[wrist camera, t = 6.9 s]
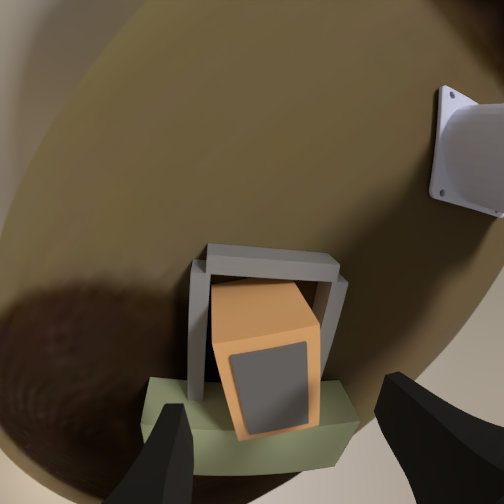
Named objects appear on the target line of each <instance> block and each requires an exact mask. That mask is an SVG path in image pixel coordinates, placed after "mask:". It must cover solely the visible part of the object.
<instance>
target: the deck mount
mask: <svg viewBox="0 0 504 504" xmlns="http://www.w3.org/2000/svg"><path fill="white" fill-rule="evenodd" d="M339 270H340V264H339V263H338V262H337V261H336V260H335V259H334V258H332V257H331V256H330V255H329V254H328V253H320V252H308V251H297V250H285V249H273V248H261V247H250V246H238V245H226V244H214V243H208V247H207V259H206V260H198V259H193V262H192V268H191V276H190V297H189V323H188V380H176V379H165V378H155V377H150V380H149V385H148V389H147V394H146V399H145V404H144V409H143V414H142V419H141V429H142V434H143V439H144V443H145V442H146V440H147V439H148V437H149V435H150V433H151V431H152V429H153V427H154V425H155V423H156V421H157V419H158V417H159V415H160V413H161V410H162V408H163V406H164V405H165V404H166V403H184V406H185V410H186V414H187V418H188V421H189V425H190V428H191V432H192V435H193V444H194V473H193V475H214V476H242V475H265V474H279V473H290V472H299V471H307V470H314V469H320V468H327V467H333V466H335V464H336V463H337V461H338V460H339V458H340V456H341V455H342V453H343V451H344V450H345V448H346V446H347V445H348V443H349V441H350V439H351V438H352V436H353V434H354V432H355V430H356V429H357V427H358V425H359V423H360V421H361V420H360V418H359V416H358V414H357V412H356V411H355V409H354V407H353V405H352V403H351V401H350V399H349V397H348V395H347V394H346V392H345V390H344V388H343V386H342V384H341V382H340V380H333V381H320V413H319V425H318V426H314V427H310V428H306V429H301V430H297V431H293V432H288V433H283V434H278V435H273V436H268V437H262V438H256V439H250V440H243V441H238V438H237V434H236V431H235V427H234V424H233V421H232V417H231V414H230V410H229V407H228V403H227V399H226V396H225V392H224V388H223V385H222V382H204V368H205V349H206V332H207V317H208V303H209V289H210V276H211V274H217V275H230V276H244V277H259V278H274V279H290V280H307V281H318V284H317V288H316V293H315V298H314V302H313V306H312V312H313V314H314V315H315V317H316V319H317V320H318V322H319V323H320V380H321V377H322V374H323V371H324V367H325V364H326V361H327V358H328V355H329V352H330V348H331V345H332V342H333V338H334V335H335V332H336V328H337V325H338V321H339V317H340V314H341V310H342V306H343V303H344V299H345V295H346V291H347V287H348V282H347V281H346V280H345V279H344V278H343V277H342V276H341V275H340V274H339Z"/></svg>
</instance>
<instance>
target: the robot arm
mask: <svg viewBox="0 0 504 504" xmlns="http://www.w3.org/2000/svg"><path fill="white" fill-rule="evenodd" d="M450 94H451V97H450ZM440 191H441V195H440ZM429 194H430V196H431V197H432V198H434V199H438V200H442V201H445V202H449V203H453V204H456V205H460V206H463V207H467V208H470V209H473V210H477V211H480V212H483V213H487V214H490V215H493V216H496V217H499V218H502V217H503V216H504V104H481V105H479V104H478V103H476V102H474V101H473V100H471V99H469V98H468V97H466V96H464V95H462V94H461V93H459V92H457V91H455V90H453V89H452V88H450V87H448V86H441V87H440V88H439V105H438V121H437V133H436V143H435V152H434V160H433V168H432V175H431V181H430V187H429ZM374 413H375V415H376V418H377V420H378V424H379V426H380V428H381V431H382V433H383V435H384V437H385V439H386V440H387V442H388V444H389V446H390V448H391V449H392V451H393V453H394V455H395V457H396V458H397V460H398V462H399V464H400V466H401V467H402V469H403V471H404V472H405V475H406V477H407V479H408V481H409V484H410V486H411V489H412V492H413V494H414V497H415V500H416V503H417V504H504V427H501V426H498V425H494V424H492V423H489V422H486V421H484V420H481V419H479V418H476V417H474V416H472V415H470V414H468V413H466V412H464V411H462V410H460V409H458V408H456V407H454V406H453V405H451V404H449V403H448V402H446V401H444V400H442V399H441V398H439V397H438V396H436V395H435V394H433V393H431V392H430V391H428V390H427V389H425V388H424V387H422V386H421V385H419V384H418V383H416V382H415V381H413V380H412V379H410V378H409V377H407V376H405V375H404V374H402V373H401V372H399V371H398V372H395V373H391V374H387V375H385V378H384V381H383V384H382V388H381V391H380V394H379V397H378V400H377V403H376V406H375V409H374ZM193 473H194V444H193V435H192V432H191V428H190V425H189V421H188V418H187V414H186V410H185V406H184V403H166V404H165V405H164V406H163V408H162V410H161V413H160V415H159V417H158V419H157V421H156V423H155V425H154V427H153V429H152V431H151V433H150V435H149V437H148V439H147V440H146V442H145V444H144V446H143V448H142V449H141V451H140V453H139V454H138V456H137V458H136V459H135V461H134V462H133V464H132V465H131V467H130V468H129V470H128V471H127V473H126V474H125V476H124V477H123V478H122V480H121V481H120V482H119V484H118V485H117V486H116V487H115V489H114V490H113V491H112V492H111V494H110V495H109V496H108V497H107V498H106V499H105V500H104V501H103V502H102V503H101V504H191V501H192V487H193Z"/></svg>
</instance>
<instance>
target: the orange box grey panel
mask: <svg viewBox="0 0 504 504" xmlns="http://www.w3.org/2000/svg"><path fill="white" fill-rule="evenodd" d="M211 294H212V346H213V350H214V354H215V358H216V362H217V366H218V370H219V373H220V377H221V381H222V385H223V388H224V392H225V396H226V399H227V403H228V407H229V410H230V414H231V417H232V421H233V424H234V427H235V431H236V434H237V438H238V441H243V440H250V439H256V438H262V437H268V436H273V435H278V434H283V433H288V432H293V431H297V430H301V429H306V428H310V427H314V426H318V425H319V413H320V323H319V322H318V320H317V319H316V317H315V315H314V314H313V312H312V310H311V309H310V307H309V305H308V304H307V302H306V301H305V299H304V297H303V296H302V294H301V292H300V291H299V289H298V287H297V286H296V284H295V283H294V281H293V280H290V279H274V278H259V277H255V278H249V279H242V280H236V281H230V282H224V283H218V284H211Z"/></svg>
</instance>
